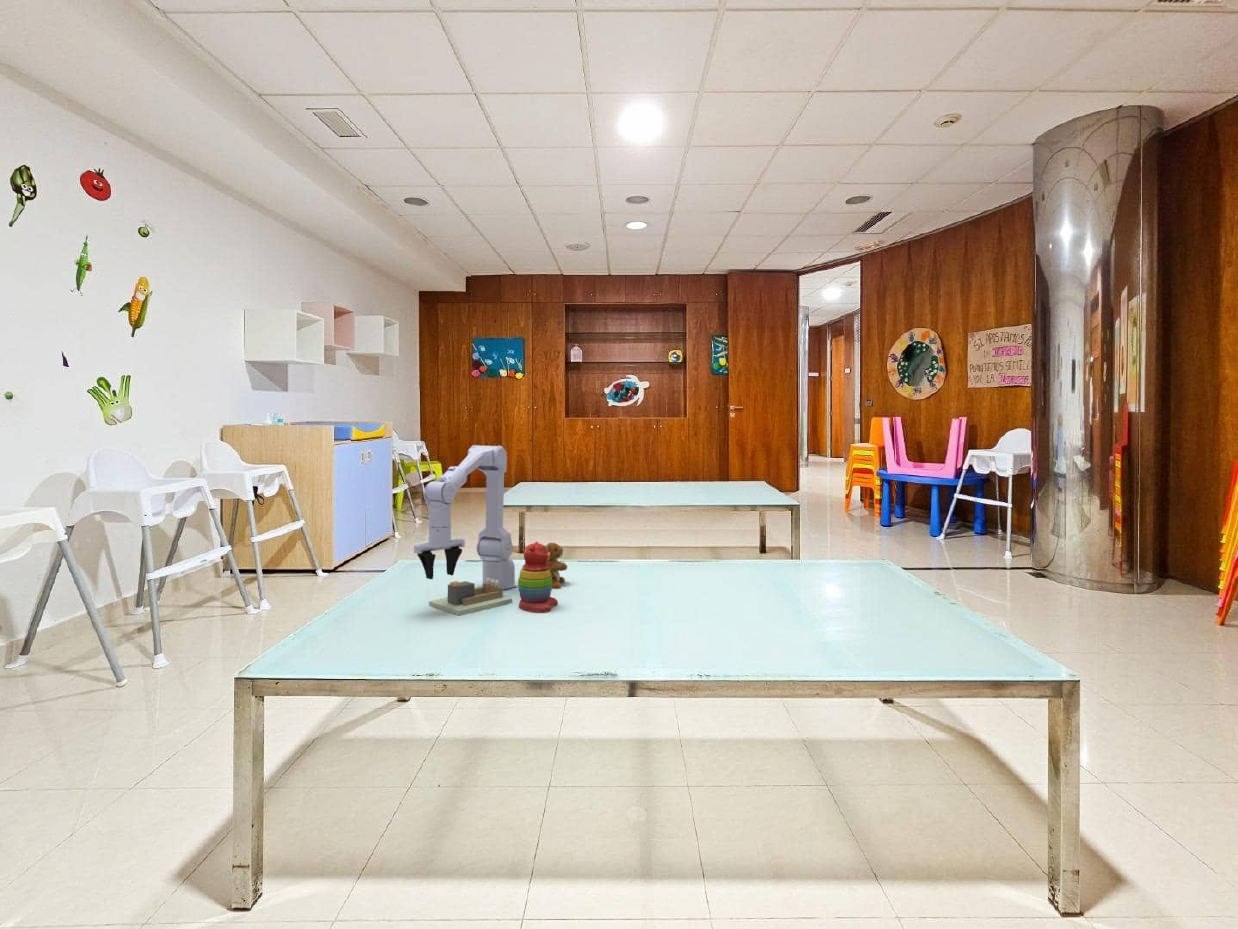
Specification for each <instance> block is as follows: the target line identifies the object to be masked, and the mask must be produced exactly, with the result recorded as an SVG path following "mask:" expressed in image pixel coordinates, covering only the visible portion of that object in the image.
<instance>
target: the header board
mask: <svg viewBox="0 0 1238 929" xmlns="http://www.w3.org/2000/svg"><path fill="white" fill-rule="evenodd" d="M482 585H483V587H479V588H477V587H475V596H473V597H468V598H464V599H462V604H461V605H453V604H450V603H448V593H447V597H441V598H438V599H433V600H429V601H428V606H429V607H432V608H436V609H437V610H438V609H439V610H441V611H444V612H446V613H449V614H453V615H457V616H462V615H466V614H471V613H475V612H481V611H483V610H487V609H492V608H496V607H499V606H504V605H508V604H512V603H513V598H512V597H508V596H504V595H503V594H504V591H503V590H504V589H503V587H499V580H495V585H494V579H491V584H490V578H487V583H483V582H482Z"/></svg>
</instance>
